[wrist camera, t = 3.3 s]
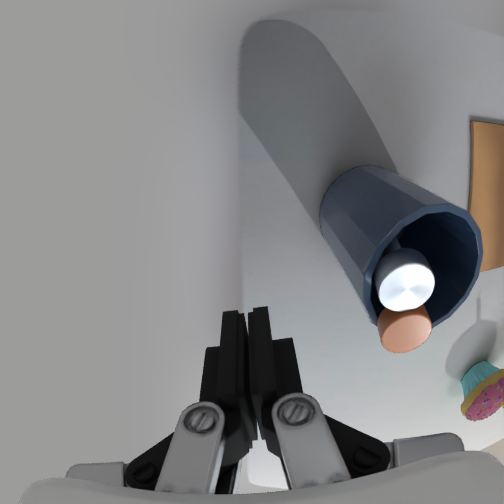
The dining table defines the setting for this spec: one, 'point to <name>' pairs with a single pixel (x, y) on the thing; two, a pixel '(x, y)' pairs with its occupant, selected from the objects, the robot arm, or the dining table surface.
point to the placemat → (488, 190)
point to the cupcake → (482, 391)
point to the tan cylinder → (403, 328)
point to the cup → (400, 236)
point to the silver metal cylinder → (403, 278)
